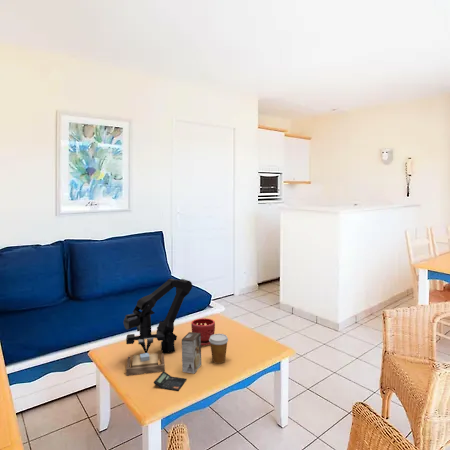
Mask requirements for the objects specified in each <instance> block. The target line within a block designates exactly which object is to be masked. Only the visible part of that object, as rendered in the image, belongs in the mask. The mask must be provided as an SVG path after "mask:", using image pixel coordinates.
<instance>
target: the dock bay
mask: <svg viewBox="0 0 450 450" xmlns="http://www.w3.org/2000/svg"><path fill="white" fill-rule="evenodd" d="M160 355H161V359H160V360H161V364H158V365H151V366H142V367H133V368H132V367H131V365H132V362H131V361H132V360H131V356H127V363H126V367H125V368H126V369H125V370H126V374H125V375H126V377H127V376H134V375H135V376H136V375H145V374H144V373H146V374H152V373H154V374H155V373H162V372H163V371H164V372H166V367H165V364H166V363H165V353H162V352H161V354H160Z"/></svg>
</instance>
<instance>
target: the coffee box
mask: <svg viewBox="0 0 450 450" xmlns="http://www.w3.org/2000/svg"><path fill="white" fill-rule="evenodd" d="M181 362H182V365H181V366H182V367H181V369H182V371H181V372H183V373H189V374H196V372H197V371H199V368H200V367H201V366H202V346H201V333H194V332H192V331H191V332H190V331H189V332H187V333H186V335H185V336H183V337H182V338H181Z"/></svg>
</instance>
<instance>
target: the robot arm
mask: <svg viewBox="0 0 450 450" xmlns="http://www.w3.org/2000/svg"><path fill="white" fill-rule="evenodd" d="M173 288H175V294H174V295H175V296H174V298H173V300H172V303H171V304H170V307H169V309H168V312H167V314H166V317H165V319H164V320H162V321H159V323H158V325H157V327H156V329H157V330H156V333H155V334H153V333H152V315H154V314H155V311H154V310H153V308H154V307H155V305H156V304H157V302H158V301H159V300H161V299H162V297H164V296H165V295H166V294H167V293H169V292H171V290H172V289H173ZM192 288H193V283H192V281H190V280H188V279H184V278H180V279H173V278H168V279H167V280H166V281H165V282H164V283H163V284H161V285H160V286H159V287H158V288H157V289H155V290H154V291H153V292H151V293H150V294H148V295H145V296H143V297H141V298H139V299H138V300H137V301H136V305H135V307H134V308H133V310H132V313H130V314H125V315H124V319H123V327H124V329H125V330H130V329H133V328H136V332H139V335H135V333H132V334H126V339H125V341H126V345H132V344H134V343H135V341H138V343H137V344H138V345H140V346H141V347H142V350H143V352H144V353H149V350H150V347H151V345H152V344H154V339H156V340H157V341H158V342H159V341H160V349H161V351H162V352H161V353H164V354H170V353H175V352H176V348H175V341H177V338H178V335H176V333H174V330H175V322H176V321H175V320H176V319H177V316H178V314H179V311H180V309H181V306H182V304H183V301H184V299H185V298H186V297H187V296H188V295H189V294H190V292H191V290H192ZM145 340H146V342H145Z"/></svg>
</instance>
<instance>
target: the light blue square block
mask: <svg viewBox="0 0 450 450" xmlns="http://www.w3.org/2000/svg"><path fill="white" fill-rule="evenodd" d="M149 354H150V353H149V352H148V353H145V352H144V353H140V354H139V355H140V359H141V362H142V361H148V360H150V358H149Z"/></svg>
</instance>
